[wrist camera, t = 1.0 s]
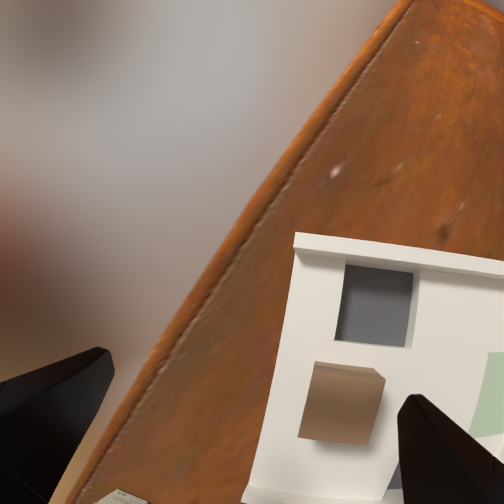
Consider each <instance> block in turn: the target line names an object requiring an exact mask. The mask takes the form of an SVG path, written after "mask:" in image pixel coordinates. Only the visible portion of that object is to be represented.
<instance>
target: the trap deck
mask: <svg viewBox="0 0 504 504" xmlns="http://www.w3.org/2000/svg"><path fill="white" fill-rule="evenodd" d="M293 247H294V250H295V259H294V265H293V272H292V278H291V284H290V290H289V296H288V302H287V307H286V313H285V319H284V324H283V330H282V335H281V340H280V346H279V351H278V356H277V361H276V366H275V371H274V376H273V381H272V386H271V390H270V395H269V400H268V404H267V409H266V413H265V418H264V422H263V427H262V431H261V435H260V439H259V444H258V448H257V452H256V456H255V460H254V464H253V468H252V472H251V476H250V480H249V483H248V485H247V487H246V489H245V491H244V493H243V496H242V500H241V502H243V503H247V504H404V501H403V490H402V481H401V473H400V465H399V452H398V429H397V414H398V412H399V410H400V408H401V407H402V405H403V403H404V402H405V400H406V398H407V397H408V396H409V395H410V394H422V395H424V396H425V397H426V398H427V399H428V400H429V401H431V402H432V403H433V404H434V405H435V406H436V407H438V408H439V409H440V410H441V411H442V412H443V413H445V414H446V415H447V416H448V417H449V418H450V419H452V420H453V421H454V422H455V423H456V424H457V425H459V426H460V427H461V428H462V429H463V430H464V431H466V432H467V433H468V434H469V435H470V436H471V437H473V438H474V439H475V440H476V441H477V442H478V443H480V444H481V445H482V446H483V447H484V448H485V449H487V450H488V451H489V452H490V453H491V454H492V455H493V456H495V457H496V458H497V459H498V460H499V461H501V462H502V463H503V464H504V261H498V260H492V259H486V258H480V257H474V256H468V255H462V254H455V253H449V252H442V251H436V250H429V249H422V248H415V247H408V246H401V245H394V244H387V243H379V242H372V241H364V240H357V239H349V238H341V237H333V236H325V235H316V234H308V233H299V232H296V233H295V240H294V246H293ZM315 361H319V362H326V363H333V364H341V365H349V366H358V367H367V368H374V369H375V370H376V371H377V372H378V373H379V374H380V375H381V376H383V377H384V378H385V379H386V382H385V386H384V390H383V394H382V398H381V402H380V406H379V409H378V413H377V417H376V420H375V423H374V427H373V430H372V433H371V436H370V439H369V442H368V445H352V444H341V443H332V442H324V441H316V440H310V439H303V438H297V436H298V432H299V428H300V424H301V419H302V415H303V411H304V407H305V403H306V399H307V394H308V390H309V386H310V381H311V376H312V372H313V367H314V362H315Z"/></svg>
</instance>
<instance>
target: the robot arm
mask: <svg viewBox="0 0 504 504" xmlns="http://www.w3.org/2000/svg"><path fill="white" fill-rule="evenodd" d="M114 372H115V370H114V365H113V361H112V356H111V353H110V351H109V350H108V349H105V348H102V347H99V346H98V347H94V348H92V349H90V350H87V351H84V352H81V353H79V354H76V355H74V356H71V357H68V358H66V359H63V360H60V361H58V362H55V363H53V364H50V365H47V366H44V367H42V368H39V369H36V370H33V371H31V372H28V373H25V374H22V375H19V376H17V377H14V378H11V379H8V380H7V381H2V382H0V504H48V503H49V501H50V499H51V497H52V495H53V493H54V491H55V489H56V487H57V485H58V483H59V481H60V479H61V477H62V475H63V473H64V472H65V470H66V468H67V466H68V464H69V462H70V460H71V459H72V457H73V455H74V453H75V451H76V449H77V447H78V446H79V444H80V442H81V441H82V439H83V437H84V435H85V433H86V432H87V430H88V428H89V426H90V424H91V423H92V421H93V419H94V418H95V416H96V414H97V412H98V410H99V408H100V406H101V403H102V401H103V399H104V397H105V394H106V392H107V390H108V388H109V386H110V383H111V381H112V379H113V377H114ZM397 429H398V452H399V465H400V473H401V481H402V490H403V501H404V504H504V464H503V463H502V462H501V461H499V460H498V459H497V458H496V457H495V456H493V455H492V454H491V453H490V452H489V451H488V450H487V449H485V448H484V447H483V446H482V445H481V444H480V443H478V442H477V441H476V440H475V439H474V438H473V437H471V436H470V435H469V434H468V433H467V432H466V431H464V430H463V429H462V428H461V427H460V426H459V425H457V424H456V423H455V422H454V421H453V420H452V419H450V418H449V417H448V416H447V415H446V414H445V413H443V412H442V411H441V410H440V409H439V408H438V407H436V406H435V405H434V404H433V403H432V402H431V401H429V400H428V399H427V398H426V397H425V396H424V395H422V394H410V395H409V396H408V397H407V398H406V400H405V402H404V403H403V405H402V407H401V408H400V410H399V412H398V414H397Z"/></svg>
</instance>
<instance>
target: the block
mask: <svg viewBox="0 0 504 504" xmlns="http://www.w3.org/2000/svg"><path fill="white" fill-rule="evenodd" d="M385 382H386V379H385V378H384V377H383V376H381V375H380V374H379V373H378V372H377V371H376V370H375V369H374V368H367V367H358V366H349V365H341V364H333V363H326V362H319V361H315V362H314V367H313V372H312V376H311V381H310V386H309V390H308V394H307V399H306V403H305V407H304V411H303V415H302V419H301V424H300V428H299V432H298V436H297V438H303V439H310V440H316V441H324V442H332V443H341V444H352V445H368V442H369V439H370V436H371V433H372V430H373V427H374V423H375V420H376V417H377V413H378V409H379V406H380V402H381V398H382V394H383V390H384V386H385Z"/></svg>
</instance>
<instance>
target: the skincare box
mask: <svg viewBox="0 0 504 504" xmlns="http://www.w3.org/2000/svg"><path fill="white" fill-rule="evenodd" d="M94 504H149V503H148V502H147V501H144V500H142V499H140V498H137V497H135V496H133V495H130V494H128V493H126V492H123V491H121V490H118V489H117V490H115V491H114V492H112V493H110V494H109V495H107V496H106V497H104V498H102V499H101V500H99V501H98V502H96V503H94Z"/></svg>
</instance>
